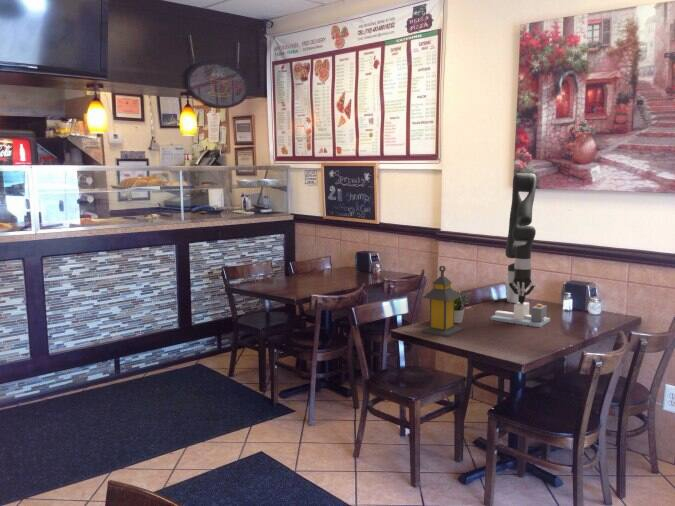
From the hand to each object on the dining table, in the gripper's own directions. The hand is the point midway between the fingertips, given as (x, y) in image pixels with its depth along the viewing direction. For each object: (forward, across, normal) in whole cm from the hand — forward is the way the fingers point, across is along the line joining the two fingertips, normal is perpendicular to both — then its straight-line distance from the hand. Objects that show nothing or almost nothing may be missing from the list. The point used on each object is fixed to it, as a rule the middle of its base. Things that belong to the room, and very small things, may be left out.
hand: (521, 303), depth 288 cm
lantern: (+9, +22, +38) cm, 45 cm away
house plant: (+9, +24, +20) cm, 32 cm away
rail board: (+9, 0, 0) cm, 9 cm away
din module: (+7, 0, 0) cm, 7 cm away
